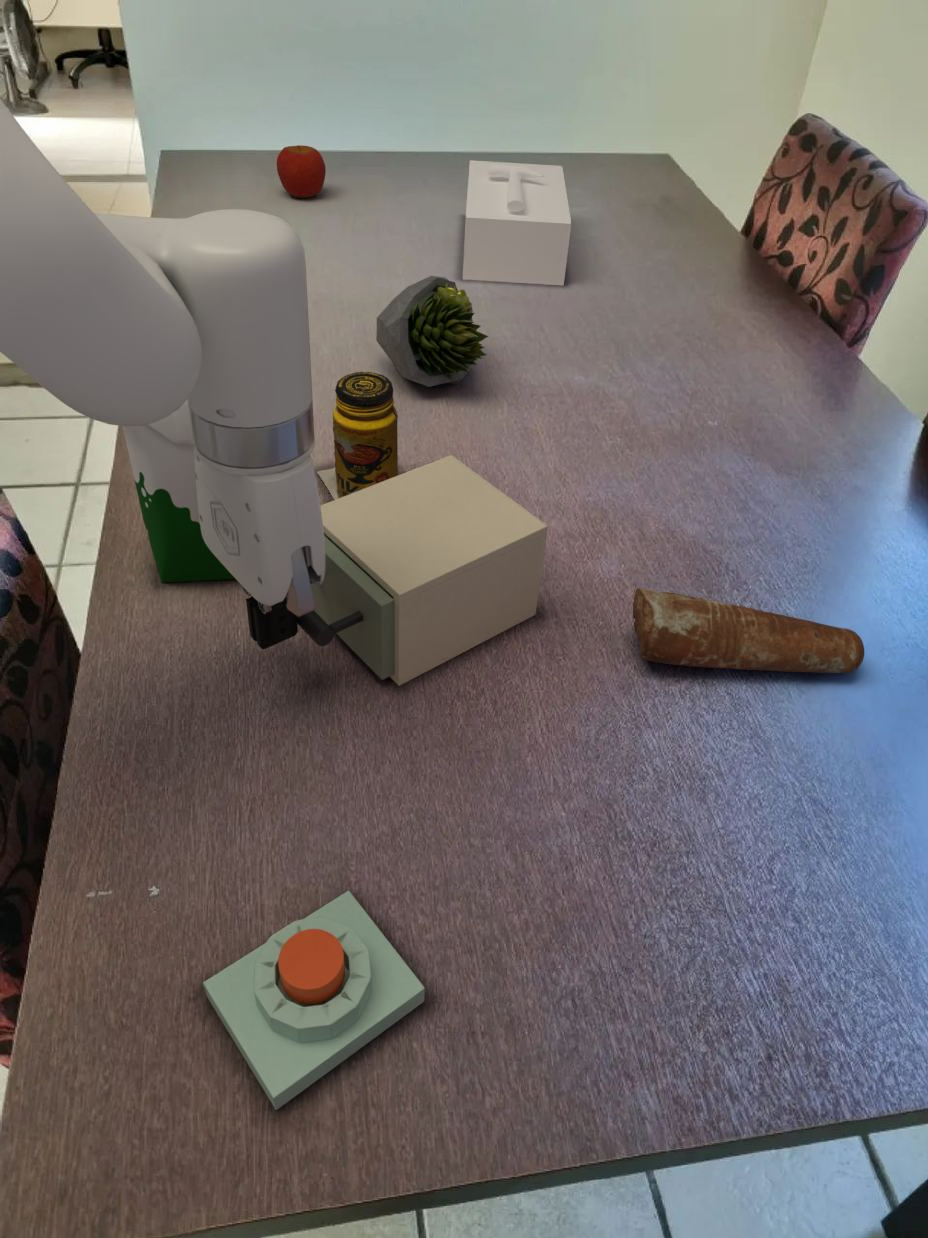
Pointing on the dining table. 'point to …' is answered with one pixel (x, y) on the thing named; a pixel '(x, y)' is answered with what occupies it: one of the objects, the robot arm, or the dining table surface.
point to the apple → (301, 170)
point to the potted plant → (430, 332)
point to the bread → (738, 637)
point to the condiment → (362, 434)
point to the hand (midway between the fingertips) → (274, 636)
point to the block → (313, 1033)
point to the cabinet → (442, 558)
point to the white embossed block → (516, 223)
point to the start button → (311, 966)
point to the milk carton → (171, 498)
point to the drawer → (352, 611)
